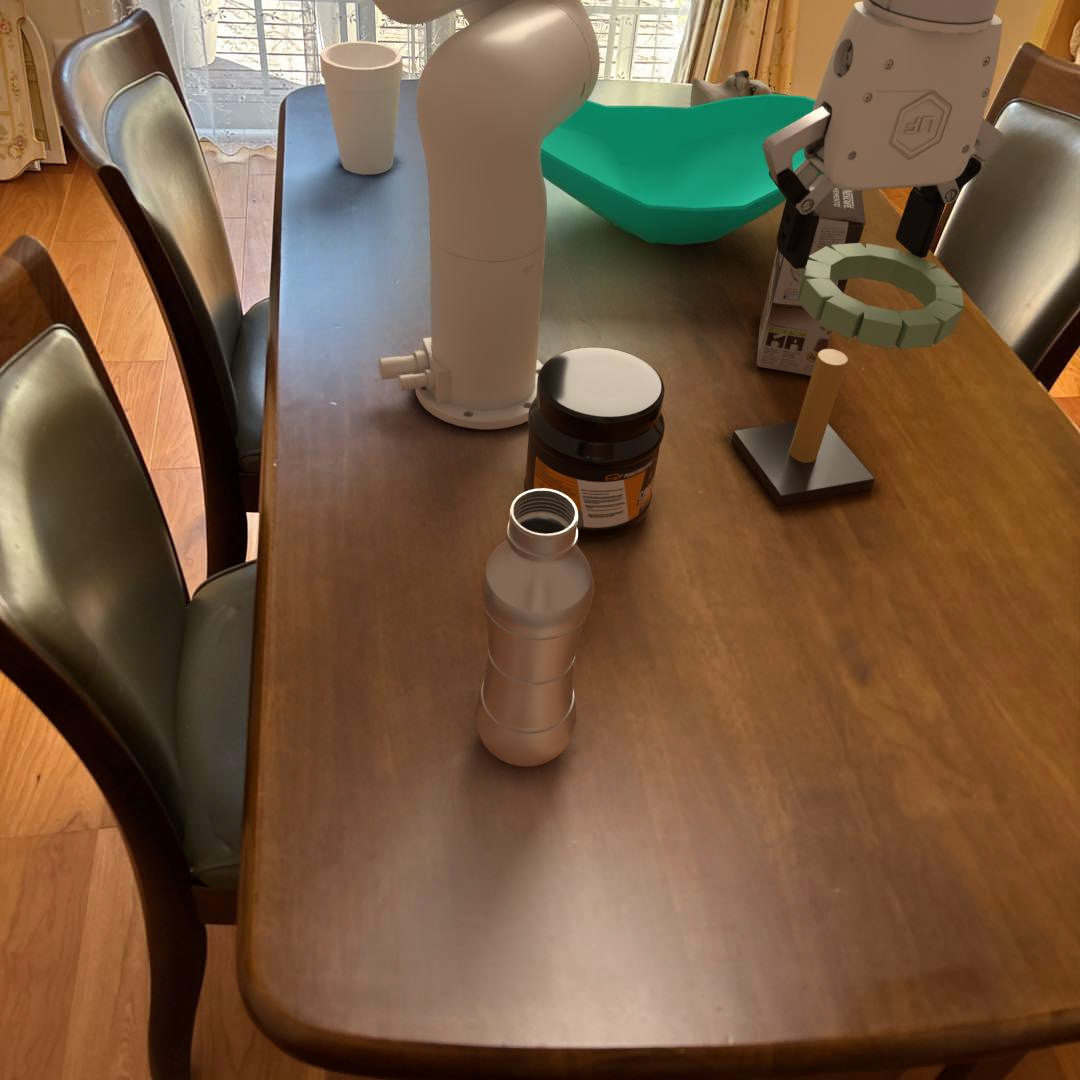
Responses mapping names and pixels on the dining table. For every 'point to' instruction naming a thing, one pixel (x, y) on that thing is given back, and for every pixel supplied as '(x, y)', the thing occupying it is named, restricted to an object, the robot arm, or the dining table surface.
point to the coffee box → (784, 321)
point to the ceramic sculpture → (727, 88)
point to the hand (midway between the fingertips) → (851, 253)
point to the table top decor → (673, 164)
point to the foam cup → (363, 102)
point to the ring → (873, 321)
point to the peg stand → (806, 445)
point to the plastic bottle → (533, 630)
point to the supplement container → (597, 436)
